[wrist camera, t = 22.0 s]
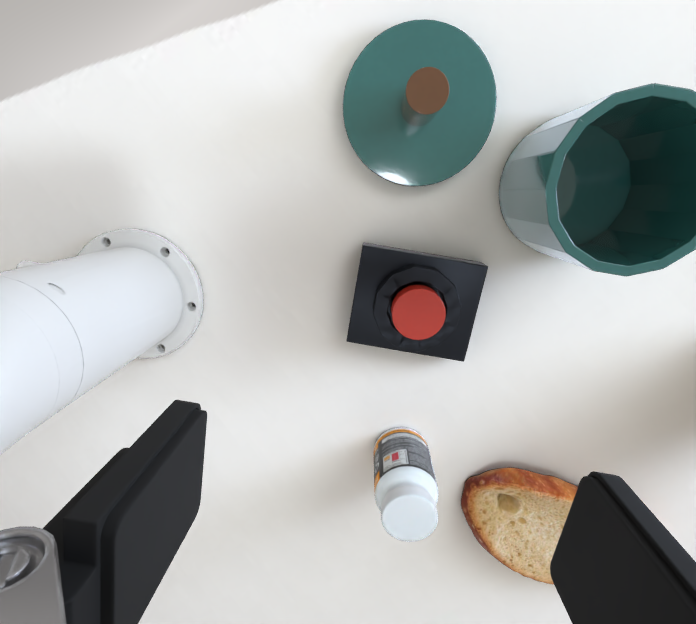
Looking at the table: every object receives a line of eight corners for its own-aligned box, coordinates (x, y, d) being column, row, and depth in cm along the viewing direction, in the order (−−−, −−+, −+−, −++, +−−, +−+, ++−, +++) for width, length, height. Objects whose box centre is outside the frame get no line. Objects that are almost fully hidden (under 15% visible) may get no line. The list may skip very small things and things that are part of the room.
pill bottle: (364, 438, 44) (362, 505, 35) (414, 416, 43) (426, 479, 34) (388, 480, 46) (393, 556, 36) (437, 460, 45) (455, 532, 35)
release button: (386, 329, 37) (387, 335, 36) (396, 280, 36) (397, 284, 34) (436, 337, 37) (439, 344, 36) (447, 288, 36) (451, 293, 34)
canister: (484, 242, 38) (525, 259, 28) (518, 105, 35) (577, 70, 25) (610, 263, 38) (695, 288, 28) (655, 128, 35) (769, 101, 25)
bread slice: (664, 557, 46) (688, 587, 43) (503, 602, 49) (514, 634, 45) (620, 419, 42) (643, 440, 39) (448, 477, 45) (455, 502, 41)
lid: (333, 173, 37) (325, 169, 31) (356, 13, 34) (353, -29, 28) (472, 197, 37) (493, 197, 31) (509, 38, 34) (542, 2, 28)
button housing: (347, 334, 41) (345, 348, 38) (363, 242, 39) (362, 247, 35) (459, 353, 41) (468, 369, 37) (482, 262, 39) (494, 269, 35)
